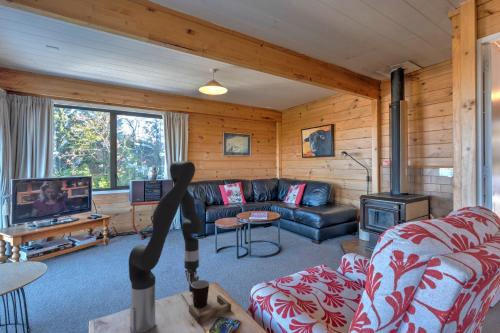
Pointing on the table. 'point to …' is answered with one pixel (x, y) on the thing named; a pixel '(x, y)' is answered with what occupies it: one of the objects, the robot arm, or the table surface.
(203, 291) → the coffee mug
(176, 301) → the table surface
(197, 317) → the walnut corral
